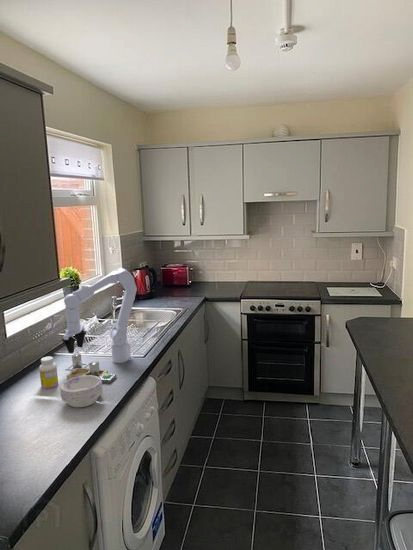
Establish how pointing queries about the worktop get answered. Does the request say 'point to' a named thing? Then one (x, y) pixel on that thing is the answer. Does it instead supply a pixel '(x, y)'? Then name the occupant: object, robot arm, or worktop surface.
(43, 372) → the supplement bottle
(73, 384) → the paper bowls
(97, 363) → the seated billet
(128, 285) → the robot arm
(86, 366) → the tray
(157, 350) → the worktop surface
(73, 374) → the wooden compartment tray
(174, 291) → the worktop surface
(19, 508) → the worktop surface
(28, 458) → the worktop surface
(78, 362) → the billet
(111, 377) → the grey square socket block
